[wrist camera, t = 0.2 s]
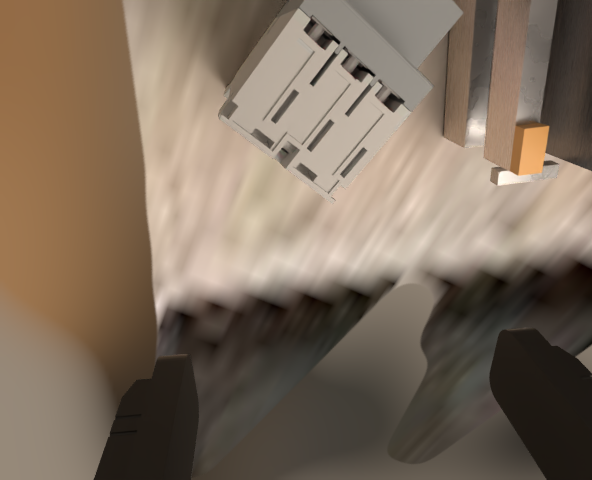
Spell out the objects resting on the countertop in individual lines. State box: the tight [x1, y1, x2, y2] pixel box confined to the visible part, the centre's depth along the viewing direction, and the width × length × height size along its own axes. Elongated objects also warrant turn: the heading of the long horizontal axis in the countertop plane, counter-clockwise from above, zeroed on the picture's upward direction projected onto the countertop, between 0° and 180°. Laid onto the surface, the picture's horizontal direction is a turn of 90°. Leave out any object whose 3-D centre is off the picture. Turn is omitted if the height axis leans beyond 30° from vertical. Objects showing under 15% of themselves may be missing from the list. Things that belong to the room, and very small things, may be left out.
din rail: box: [444, 0, 558, 176], centre depth 30 cm, size 17×2×12 cm, turn 5°
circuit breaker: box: [218, 0, 464, 204], centre depth 28 cm, size 8×14×15 cm, turn 141°
